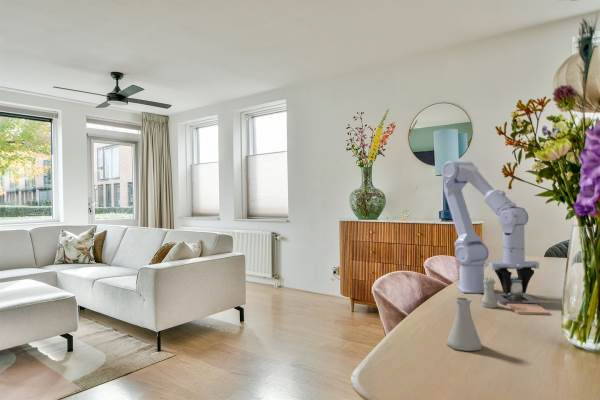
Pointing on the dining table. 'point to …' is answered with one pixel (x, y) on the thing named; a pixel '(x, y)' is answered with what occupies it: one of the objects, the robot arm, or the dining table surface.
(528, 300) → the bore plate
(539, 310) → the tile
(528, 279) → the robot arm
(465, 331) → the flask
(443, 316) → the dining table surface
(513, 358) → the dining table surface
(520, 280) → the glass jar
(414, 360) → the dining table surface
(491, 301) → the rook chess piece
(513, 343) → the dining table surface
